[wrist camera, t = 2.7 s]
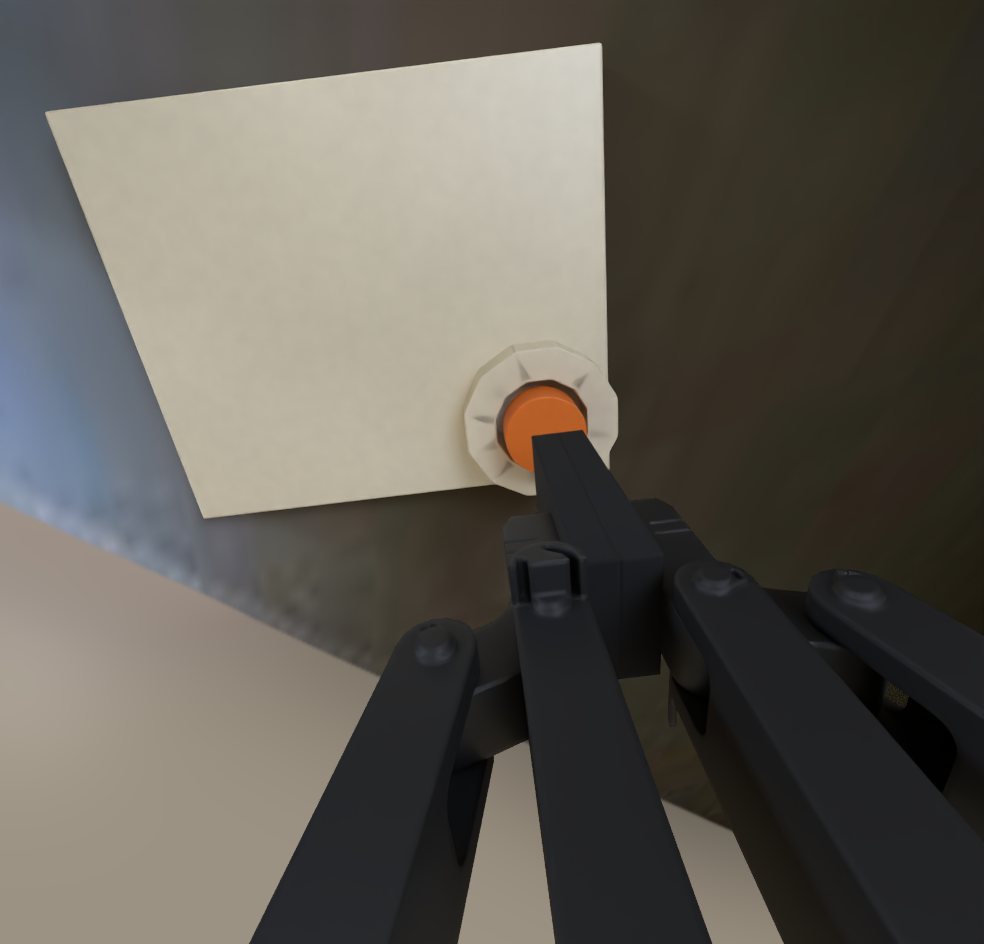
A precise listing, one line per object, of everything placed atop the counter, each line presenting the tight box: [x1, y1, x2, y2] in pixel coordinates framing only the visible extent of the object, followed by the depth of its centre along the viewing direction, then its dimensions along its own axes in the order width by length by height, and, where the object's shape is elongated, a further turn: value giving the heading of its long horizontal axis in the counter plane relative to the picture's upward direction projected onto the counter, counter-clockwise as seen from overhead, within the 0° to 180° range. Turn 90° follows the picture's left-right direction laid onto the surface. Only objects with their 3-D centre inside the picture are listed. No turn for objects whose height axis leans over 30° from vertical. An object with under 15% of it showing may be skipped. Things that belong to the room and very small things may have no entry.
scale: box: [45, 43, 618, 519], centre depth 19 cm, size 18×15×3 cm
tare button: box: [503, 386, 587, 472], centre depth 19 cm, size 3×3×2 cm
